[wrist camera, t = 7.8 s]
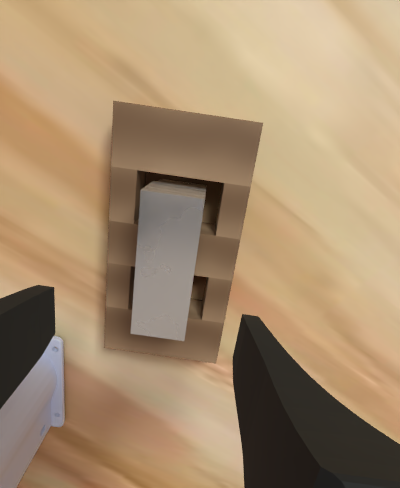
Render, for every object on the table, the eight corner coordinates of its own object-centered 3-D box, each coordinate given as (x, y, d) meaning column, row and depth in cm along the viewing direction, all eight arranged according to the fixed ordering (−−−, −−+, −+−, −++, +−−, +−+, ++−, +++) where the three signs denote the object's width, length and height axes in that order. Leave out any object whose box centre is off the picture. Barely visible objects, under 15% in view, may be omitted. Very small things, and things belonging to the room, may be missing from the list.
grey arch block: (191, 289, 22) (184, 341, 17) (151, 283, 22) (130, 333, 17) (207, 181, 20) (204, 199, 14) (161, 174, 20) (140, 189, 14)
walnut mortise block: (215, 341, 24) (216, 363, 21) (115, 326, 24) (104, 347, 21) (256, 124, 18) (262, 123, 16) (126, 105, 18) (113, 100, 16)
